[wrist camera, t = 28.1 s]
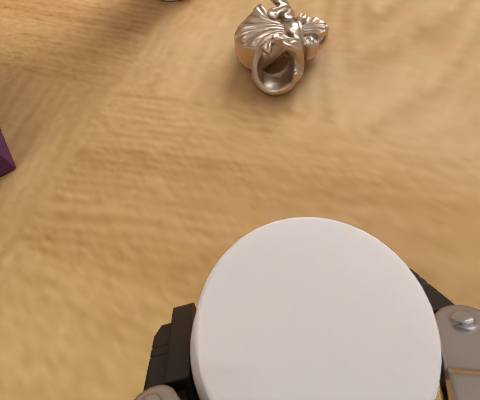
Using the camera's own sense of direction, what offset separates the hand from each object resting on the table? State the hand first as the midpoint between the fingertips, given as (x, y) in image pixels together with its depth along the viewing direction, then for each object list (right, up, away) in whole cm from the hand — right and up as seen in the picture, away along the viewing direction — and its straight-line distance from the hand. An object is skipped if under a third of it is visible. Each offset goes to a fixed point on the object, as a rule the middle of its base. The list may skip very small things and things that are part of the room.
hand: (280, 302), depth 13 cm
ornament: (+2, +15, +14) cm, 21 cm away
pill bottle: (+1, -4, +4) cm, 5 cm away
